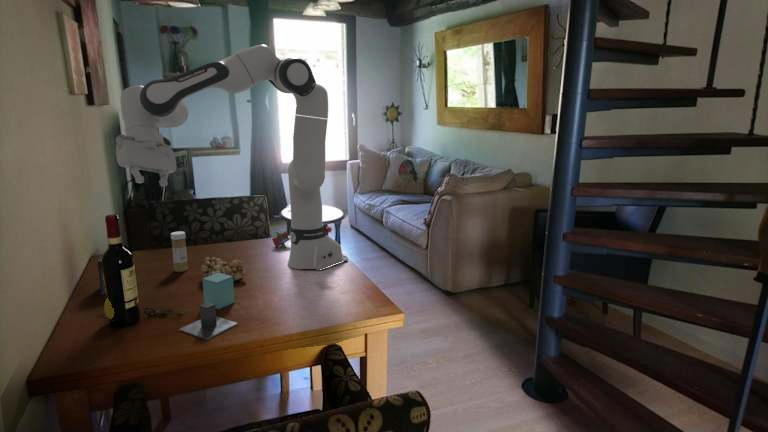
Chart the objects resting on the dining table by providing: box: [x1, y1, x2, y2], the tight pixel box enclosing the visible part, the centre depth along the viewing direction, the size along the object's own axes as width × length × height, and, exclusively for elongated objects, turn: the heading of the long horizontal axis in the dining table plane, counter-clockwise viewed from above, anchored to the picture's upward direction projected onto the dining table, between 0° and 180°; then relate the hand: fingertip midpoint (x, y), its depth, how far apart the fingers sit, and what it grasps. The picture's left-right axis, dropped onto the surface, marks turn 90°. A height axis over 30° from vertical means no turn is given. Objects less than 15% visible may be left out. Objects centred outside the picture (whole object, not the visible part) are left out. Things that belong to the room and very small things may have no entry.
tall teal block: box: [202, 273, 235, 310], centre depth 133 cm, size 6×6×8 cm
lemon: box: [103, 297, 115, 320], centre depth 121 cm, size 6×6×8 cm
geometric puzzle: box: [272, 230, 291, 249], centre depth 190 cm, size 7×7×8 cm
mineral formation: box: [200, 256, 248, 282], centre depth 152 cm, size 8×13×15 cm
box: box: [97, 253, 106, 295], centre depth 142 cm, size 8×6×11 cm
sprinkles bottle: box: [170, 230, 189, 273], centre depth 160 cm, size 5×5×14 cm
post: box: [179, 302, 239, 341], centre depth 119 cm, size 10×10×6 cm
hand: (152, 184), depth 138 cm, fingers open, 8 cm apart
